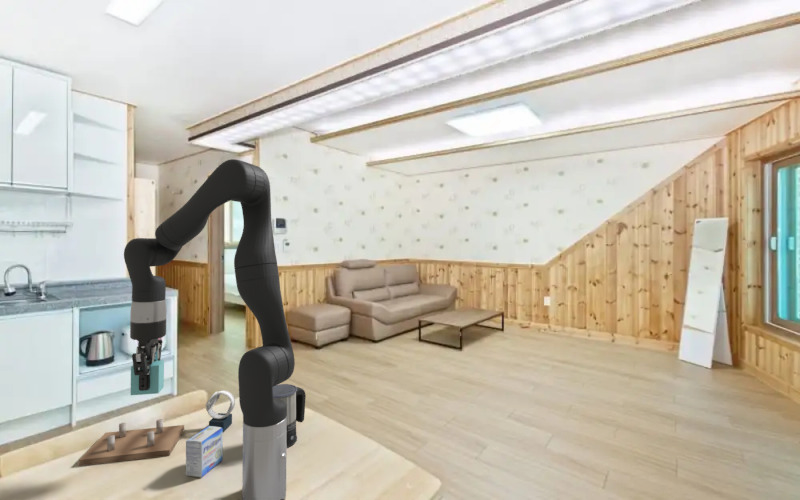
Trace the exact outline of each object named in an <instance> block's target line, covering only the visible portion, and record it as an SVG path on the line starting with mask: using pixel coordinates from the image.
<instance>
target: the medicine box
mask: <svg viewBox="0 0 800 500" xmlns="http://www.w3.org/2000/svg"><path fill="white" fill-rule="evenodd" d="M223 434H224V432H223V428H221V427H215V426H209V425H208V426H206V427H205V428H203V429H202V430H200V431H198V432H197V433H196V434H194V435H193V436H191V437H190V438H189V439H187V440H186V441H185V475H186V476H187V477H194V478H195V477H196V478H203V477H204V476H205V475H207V474H208V473H209V472H210V471H211V470H212V469H214V468H215V466H217V465H218V464H219V463H221V462H222V461H223V449H224V447H223V442H224V441H223V440H224V439H223V436H224V435H223Z"/></svg>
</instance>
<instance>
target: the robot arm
mask: <svg viewBox="0 0 800 500" xmlns="http://www.w3.org/2000/svg"><path fill="white" fill-rule="evenodd" d="M271 193H272V192H271V183H270V179H269V176H268V174H267V172H266V171H265V170H264V169H263V168H262V167H260V166H258V165H255V164H253V163H250V162H246V161H243V160H239V159H235V158H233V159H227V160H225V161H223V162H222V163H221V164H219V165H218V166H217V167H216V168H215V169H214V170H213V171H212V173H211V174H210V175H209V176H208V177H207V179H206V180H205V181H204V182H203V183H202V184H201V186H200V187H199V188H198V189H197V190H196V191H195V192H194V193H193V195H192V196H191V197H190V198H189V199H188V201H186V203H184V204H183V206H182V207H180V208H179V209H178V210H177V211H176V212H175V213H173V214H172V215H171V216H169V217H168V218H167V219H166V220H164V221H163V222H161V224H159V225H158V227H157V228H156V229H155V233H154V236H155V238H152V237H151V238H146V237H144V238H143V237H142V238H140V237H137V238H133V239H131V240H128V242H127V243H126V245H125V246H124V251H123V259H124V263H125V266H126V268H127V272H128V276H129V279H130V283H131V286H132V287H131V306H130V315H129V316H130V318H129V319H130V324H129V325H130V327H129V328H130V330H129V333H130V334H129V338H130V339H131V340H133V341H137V342H138V344H137V346H136V349H135V350H136V351H135V352H136V353H135V352H134V353H132V355H131V358H132V359H131V360H132V366H133V367H134V374H135V376H136V375H138V376H139V390H140V391H143V390H148V389H149V388H150V373H151V365H152V364H153V363H154V361H161V356H162V347H163V339H161V338H164V337H165V336H166V335H167V303H166V302H167V301H166V295H167V293H166V292H167V291H166V287H167V285H166V279H165V278H163V277H162V276H159V275H154V274H153V273H152V270H151V267H162V266H165V265H167V264H169V263H170V262H173V260H174V259H175V258H176V257H177V256H178V254H179V252H180V251H182V249H183V246H185V245H186V244H188V243H189V242H190V241H192V240H193V239H195V238H196V237H197V236H198V235H199V234H201V232H202V231H203V230H204V229H205V227H206V226H207V223H208V220H209V217H210V216H211V214H212V212H214V210H216V209H217V208H219V207H221V206H222V205H224V204H226V203H228V202H230V201H233V202H237V203H240V205H241V210H242V211H241V212H242V218H243V228H242V234H241V237H240V239H239V242H238V244H237V248H236V251H235V253H234V258H233V259H234V260H233V266H234V276H235V281H236V282H235V284H236V289H237V292H238V293H239V296H240V297H241V299H242V301H243V302H244V304H245V305H246V307H248V309H249V310H250V311H251V313H252V314H253V315H254V317H255V319H256V321H257V323H258V327H259V329H260V334H261V341H262V342H261V343H262V346H261V345H260V346H258V347H256V348H253V349H249V350H247V351H246V352H245V353H244V354H242V356H241V357H240V360H239V364H238V372H237V373H238V374H237V375H238V393H239V396H238V397H239V398H238V399H239V400H238V401H239V406H240V410H241V413H242V481H241V482H242V483H241V484H242V487H241V491H242V500H285V499H286V497H287V495H286V494H287V452H288V451H287V449H288V448H287V443H286V439H287V405H286V403H285V401H283V400H281V399H279V398H273V387H274V386H276V385H280V384H282V383H284V382H285V381H287V380H288V379H290V378H291V377H292V375H293V373H294V370H295V366H296V365H295V362H296V361H295V353H294V349H293V345H292V341H291V335H290V333H289V328H288V323H287V321H286V316H285V310H284V309H285V308H284V304H283V297H282V291H281V283H280V276H279V275H280V273H279V269H278V260H277V254H276V248H275V242H274V241H275V240H274V239H275V238H274V231H273V222H272V202H271V200H272V199H271V198H272V197H271ZM147 361H149V362H147ZM142 368H143V370H142Z"/></svg>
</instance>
